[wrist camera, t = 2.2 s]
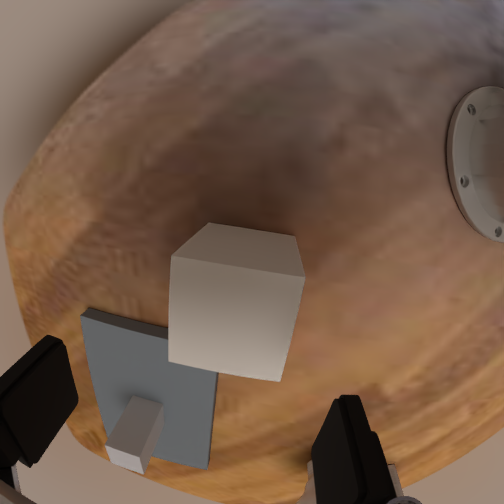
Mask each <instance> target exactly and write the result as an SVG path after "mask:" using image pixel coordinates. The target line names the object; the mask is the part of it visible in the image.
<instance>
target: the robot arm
mask: <svg viewBox="0 0 504 504" xmlns="http://www.w3.org/2000/svg"><path fill="white" fill-rule="evenodd" d="M447 165H448V172H449V179H450V183H451V186H452V190H453V194H454V197H455V199H456V201H457V204H458V206H459V209H460V211H461V212H462V214H463V215H464V217H465V219H466V221H467V222H468V223H469V224H470V225H471V226H472V227H473V229H474V230H476V231H477V232H478V233H480V234H481V235H482V236H484V237H486V238H489V239H491V240H493V241H497V242H501V243H504V89H502V88H500V87H494V86H487V87H481V88H478V89H475V90H473V91H471V92H469V93H468V94H467V95H465V96H464V97H463V98H462V100H461V101H460V102H459V104H458V105H457V107H456V109H455V111H454V113H453V115H452V118H451V122H450V126H449V130H448V139H447ZM77 404H78V394H77V390H76V387H75V383H74V379H73V375H72V371H71V367H70V363H69V358H68V354H67V349H66V346H65V345H64V344H63V341H62V340H61V339H59V338H56V337H54V336H51V335H46V336H45V337H44V338H42V339H41V340H40V341H39V342H38V343H37V344H36V345H35V346H33V347H32V348H31V349H30V350H29V351H28V352H27V353H26V354H25V355H24V356H23V357H21V358H20V359H19V360H18V361H17V362H16V363H15V364H14V365H13V366H12V367H10V369H8V370H7V371H6V372H5V373H4V374H3V375H2V376H1V377H0V504H36V503H35V502H33V501H31V500H30V499H28V498H26V497H25V496H23V495H22V494H21V490H20V485H19V480H18V475H17V469H16V462H17V461H18V460H19V461H20V462H21V463H23V464H24V465H26V466H28V467H29V468H31V466H32V465H33V463H34V464H35V463H37V462H38V461H39V460H40V458H41V457H42V455H43V454H44V452H45V450H46V449H47V448H48V446H49V444H50V443H51V442H52V440H53V439H54V437H55V436H56V434H57V433H58V431H59V430H60V428H61V427H62V426H63V424H64V423H65V421H66V420H67V419H68V417H69V416H70V414H71V413H72V411H73V410H74V409H75V407H76V406H77ZM311 456H312V465H313V474H314V484H315V494H316V504H422V503H421V502H420V501H418V500H417V499H415V498H412V497H409V496H400V497H397V495H396V491H395V488H394V485H393V481H392V478H391V475H390V472H389V468H388V465H387V462H386V459H385V456H384V453H383V450H382V447H381V444H380V441H379V438H378V436H377V434H376V433H375V432H374V431H371V429H370V426H369V423H368V420H367V417H366V414H365V411H364V408H363V405H362V402H361V399H360V397H359V396H358V395H341V396H340V397H339V399H334V401H333V403H332V405H331V408H330V410H329V412H328V414H327V417H326V419H325V421H324V423H323V425H322V427H321V430H320V432H319V434H318V436H317V438H316V440H315V442H314V444H313V446H312V451H311Z"/></svg>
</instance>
